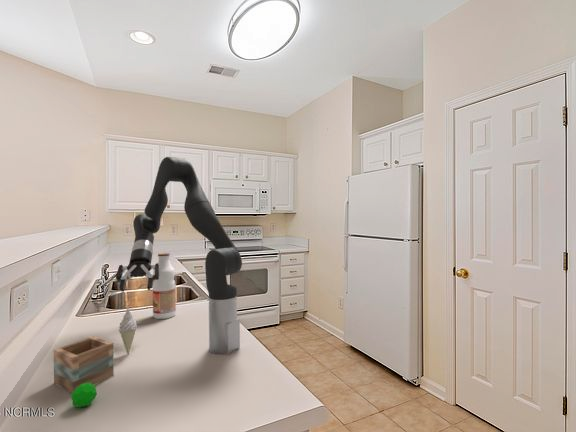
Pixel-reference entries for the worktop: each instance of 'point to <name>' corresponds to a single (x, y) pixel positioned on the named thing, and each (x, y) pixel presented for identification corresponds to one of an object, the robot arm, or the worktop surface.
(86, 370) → the square wooden crate
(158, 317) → the fruit juice
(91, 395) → the polyhedron
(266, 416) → the worktop surface
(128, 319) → the ice cream cone
